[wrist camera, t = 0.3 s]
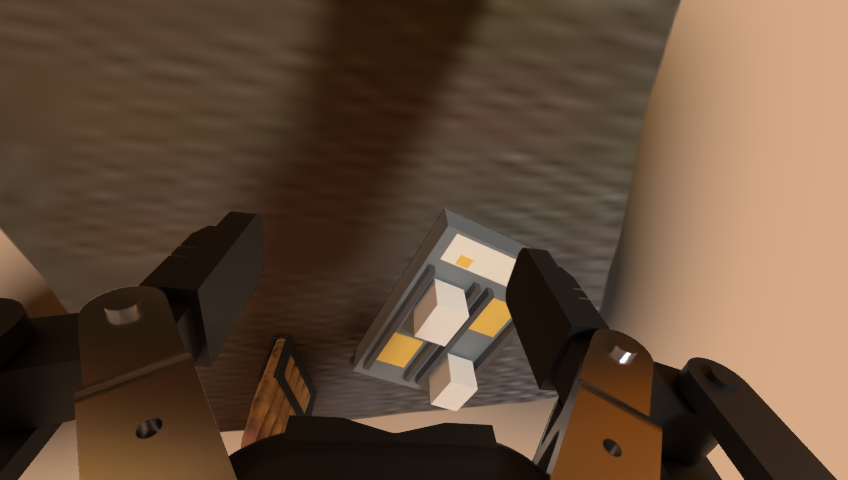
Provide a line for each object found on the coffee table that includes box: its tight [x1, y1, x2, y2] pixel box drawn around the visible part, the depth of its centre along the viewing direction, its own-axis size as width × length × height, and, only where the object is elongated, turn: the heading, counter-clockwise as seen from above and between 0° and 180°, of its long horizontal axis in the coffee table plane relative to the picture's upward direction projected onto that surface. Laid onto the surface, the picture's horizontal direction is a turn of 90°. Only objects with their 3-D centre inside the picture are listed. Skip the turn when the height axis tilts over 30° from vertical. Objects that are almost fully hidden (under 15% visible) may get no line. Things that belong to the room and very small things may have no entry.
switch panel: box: [353, 208, 530, 393], centre depth 36 cm, size 20×12×4 cm, turn 152°
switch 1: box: [413, 278, 469, 346], centre depth 31 cm, size 4×3×3 cm
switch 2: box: [429, 353, 478, 411], centre depth 36 cm, size 4×3×3 cm
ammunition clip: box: [241, 335, 317, 449], centre depth 37 cm, size 11×2×12 cm, turn 7°
